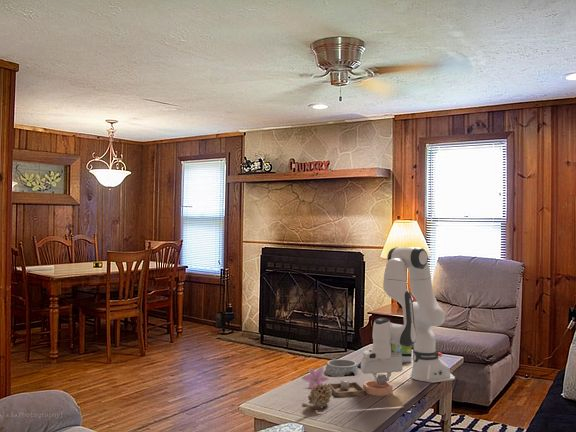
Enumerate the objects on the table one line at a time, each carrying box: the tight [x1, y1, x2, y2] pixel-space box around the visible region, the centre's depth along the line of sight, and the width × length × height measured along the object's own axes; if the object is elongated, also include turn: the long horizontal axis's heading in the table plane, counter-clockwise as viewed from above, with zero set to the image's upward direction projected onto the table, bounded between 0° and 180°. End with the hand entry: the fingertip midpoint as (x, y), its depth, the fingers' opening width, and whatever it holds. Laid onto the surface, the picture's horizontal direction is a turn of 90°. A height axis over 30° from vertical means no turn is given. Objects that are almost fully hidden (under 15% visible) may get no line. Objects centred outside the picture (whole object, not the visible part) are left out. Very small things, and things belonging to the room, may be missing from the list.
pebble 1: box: [340, 379, 350, 391], centre depth 253 cm, size 4×4×4 cm
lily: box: [301, 366, 329, 389], centre depth 258 cm, size 12×12×10 cm
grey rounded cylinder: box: [377, 373, 387, 385], centre depth 252 cm, size 4×4×4 cm
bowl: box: [362, 379, 394, 397], centre depth 251 cm, size 13×13×4 cm
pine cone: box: [300, 383, 333, 410], centre depth 228 cm, size 22×10×10 cm, turn 153°
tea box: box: [390, 343, 413, 363], centre depth 313 cm, size 15×10×15 cm
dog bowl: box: [324, 358, 359, 378], centre depth 285 cm, size 17×18×5 cm
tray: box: [327, 381, 367, 398], centre depth 250 cm, size 15×14×3 cm
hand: (381, 381), depth 252 cm, fingers closed on grey rounded cylinder, 4 cm apart
